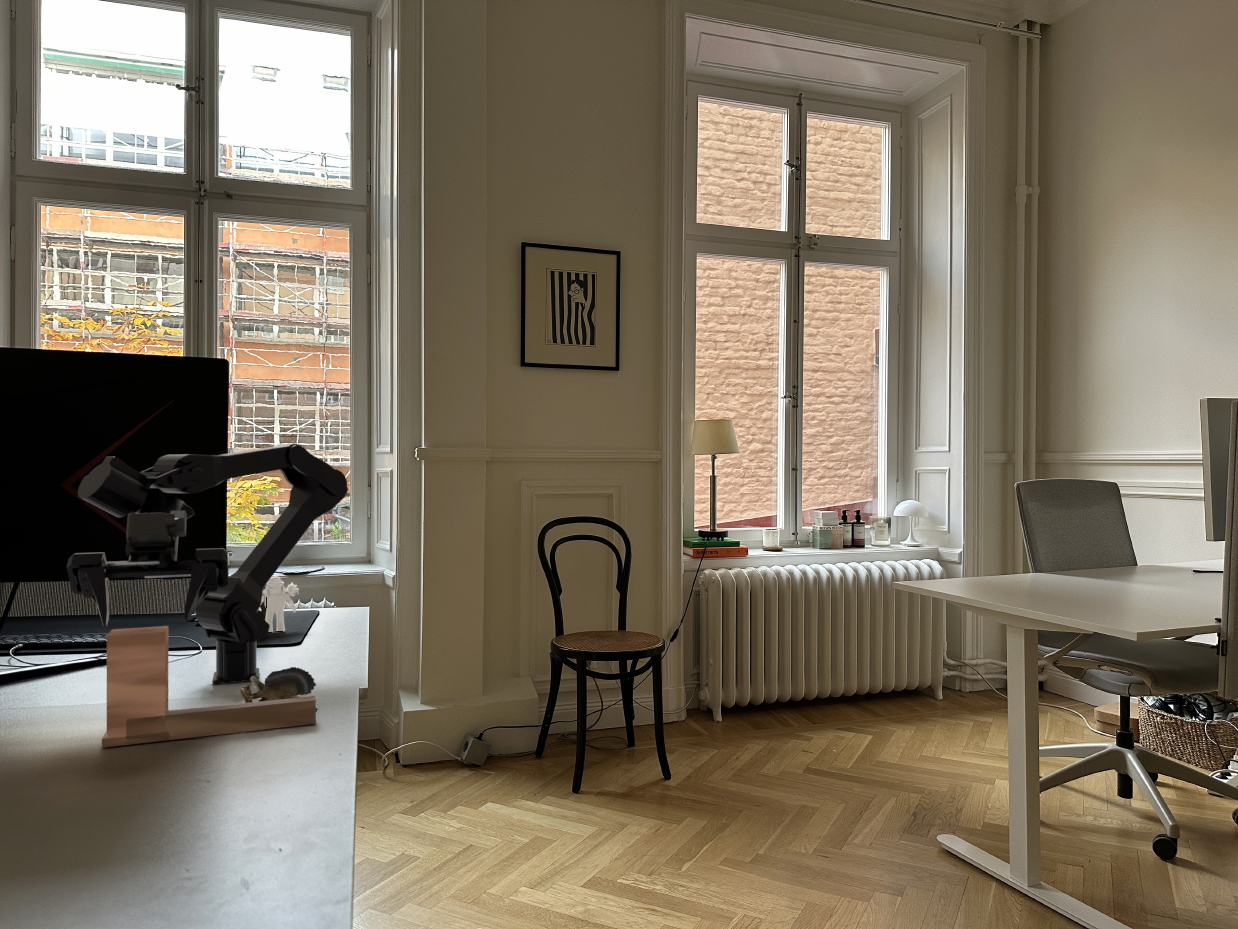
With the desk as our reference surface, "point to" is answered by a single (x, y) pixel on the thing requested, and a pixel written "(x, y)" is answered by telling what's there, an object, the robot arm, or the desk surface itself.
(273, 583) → the blocky character figurine
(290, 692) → the brown squirrel figurine
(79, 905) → the desk surface
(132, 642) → the wooden l-shaped stand
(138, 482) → the robot arm
